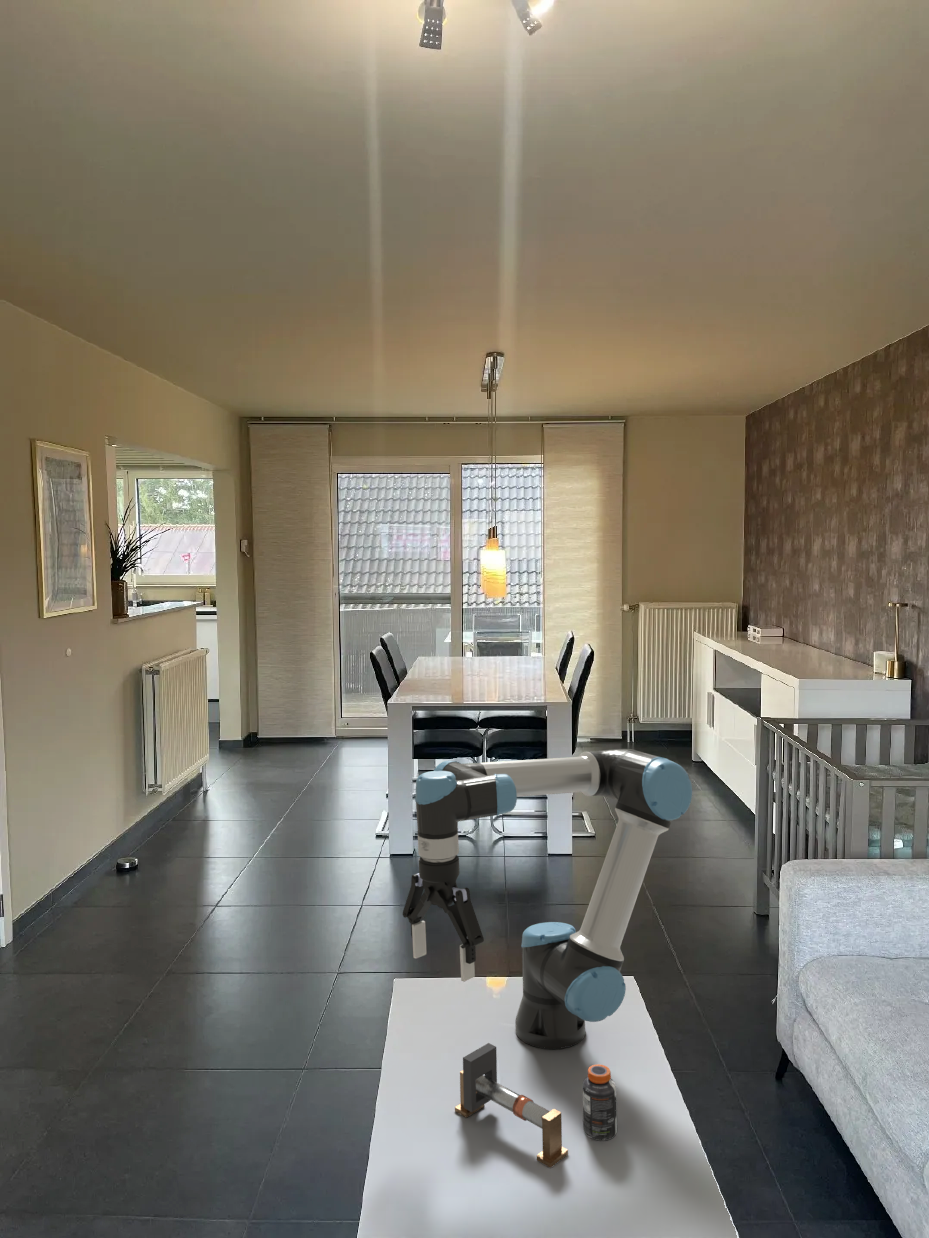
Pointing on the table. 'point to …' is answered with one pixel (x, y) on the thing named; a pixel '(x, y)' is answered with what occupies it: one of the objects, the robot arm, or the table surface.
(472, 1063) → the grey plate with hole
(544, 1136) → the pipe rig
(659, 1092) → the table surface
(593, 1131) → the pill bottle
